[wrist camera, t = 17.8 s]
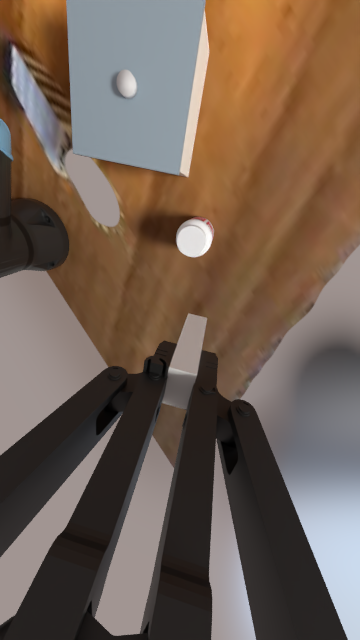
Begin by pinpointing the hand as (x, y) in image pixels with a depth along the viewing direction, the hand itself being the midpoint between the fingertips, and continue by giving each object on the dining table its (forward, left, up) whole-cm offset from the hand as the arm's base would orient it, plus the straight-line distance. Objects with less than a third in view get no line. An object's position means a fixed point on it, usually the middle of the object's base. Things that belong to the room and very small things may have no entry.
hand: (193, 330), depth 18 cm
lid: (-16, +20, -24) cm, 35 cm away
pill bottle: (-4, +3, -33) cm, 33 cm away
